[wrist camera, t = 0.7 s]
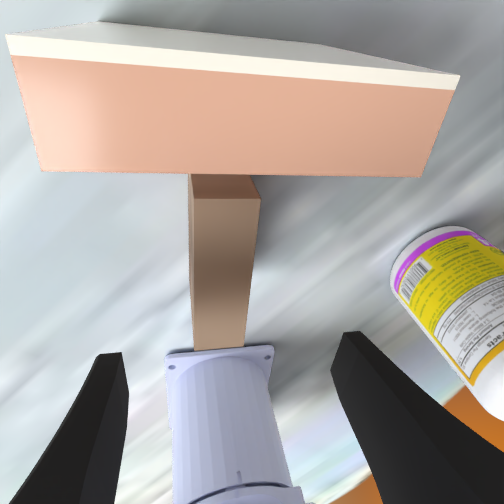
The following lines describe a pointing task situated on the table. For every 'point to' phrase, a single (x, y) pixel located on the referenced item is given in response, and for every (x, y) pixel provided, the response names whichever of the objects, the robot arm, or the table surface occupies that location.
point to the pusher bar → (221, 256)
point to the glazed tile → (222, 104)
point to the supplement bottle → (458, 305)
